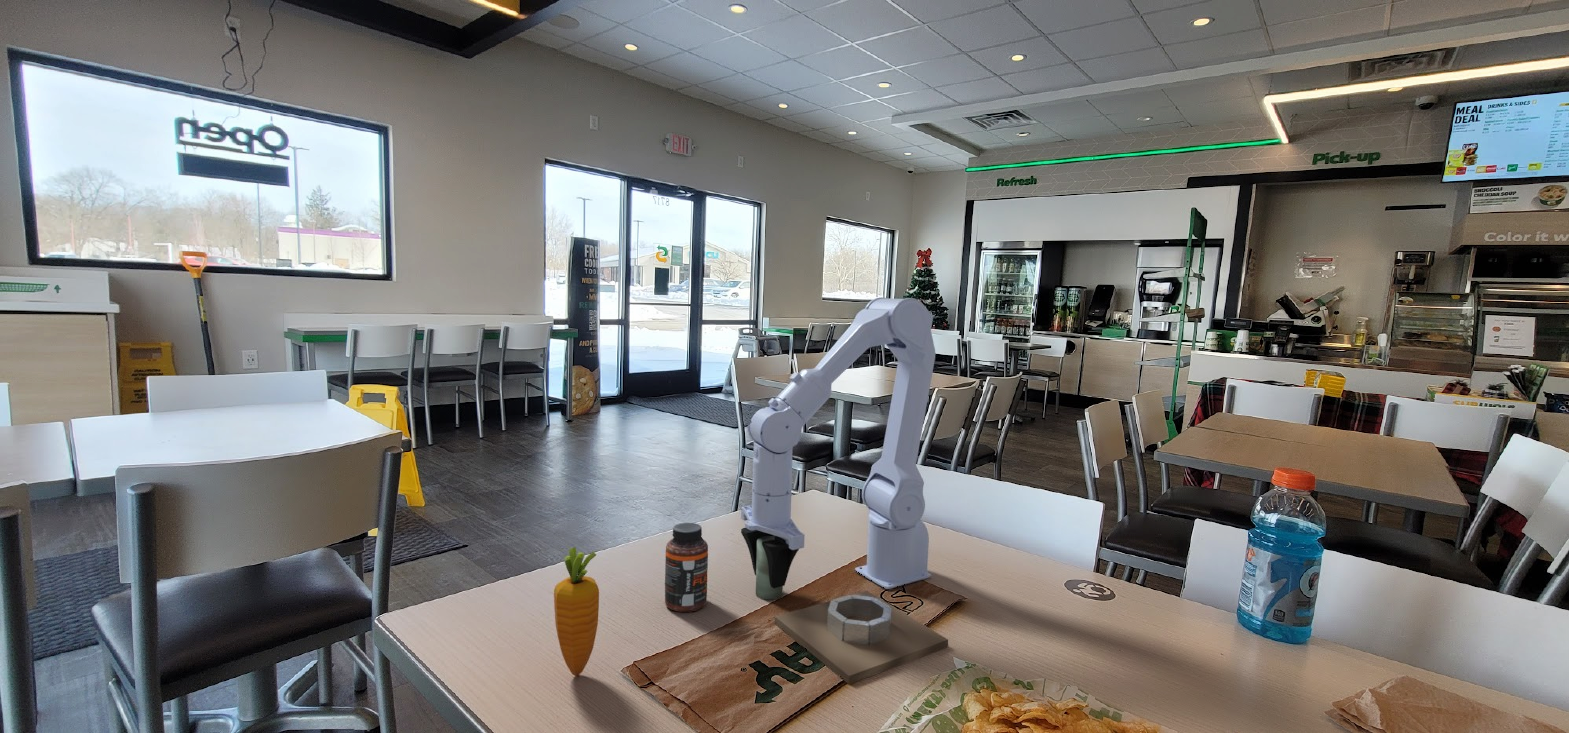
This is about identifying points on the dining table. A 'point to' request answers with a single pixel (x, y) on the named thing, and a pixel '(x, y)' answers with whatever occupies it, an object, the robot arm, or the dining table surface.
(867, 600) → the collar ring
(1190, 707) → the dining table surface
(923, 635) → the collar board
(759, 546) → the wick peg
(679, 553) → the supplement bottle
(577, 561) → the carrot
